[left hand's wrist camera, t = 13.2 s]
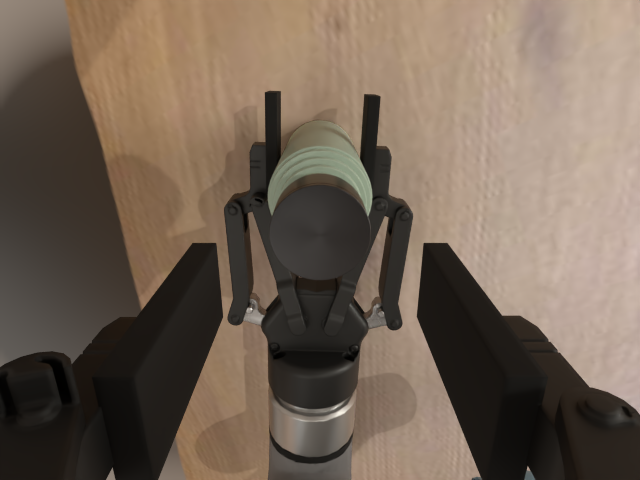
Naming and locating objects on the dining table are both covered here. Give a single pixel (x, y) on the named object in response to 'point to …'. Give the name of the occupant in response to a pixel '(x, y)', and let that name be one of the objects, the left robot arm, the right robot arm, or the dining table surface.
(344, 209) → the cap
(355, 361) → the right robot arm
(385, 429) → the dining table surface
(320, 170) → the bottle
